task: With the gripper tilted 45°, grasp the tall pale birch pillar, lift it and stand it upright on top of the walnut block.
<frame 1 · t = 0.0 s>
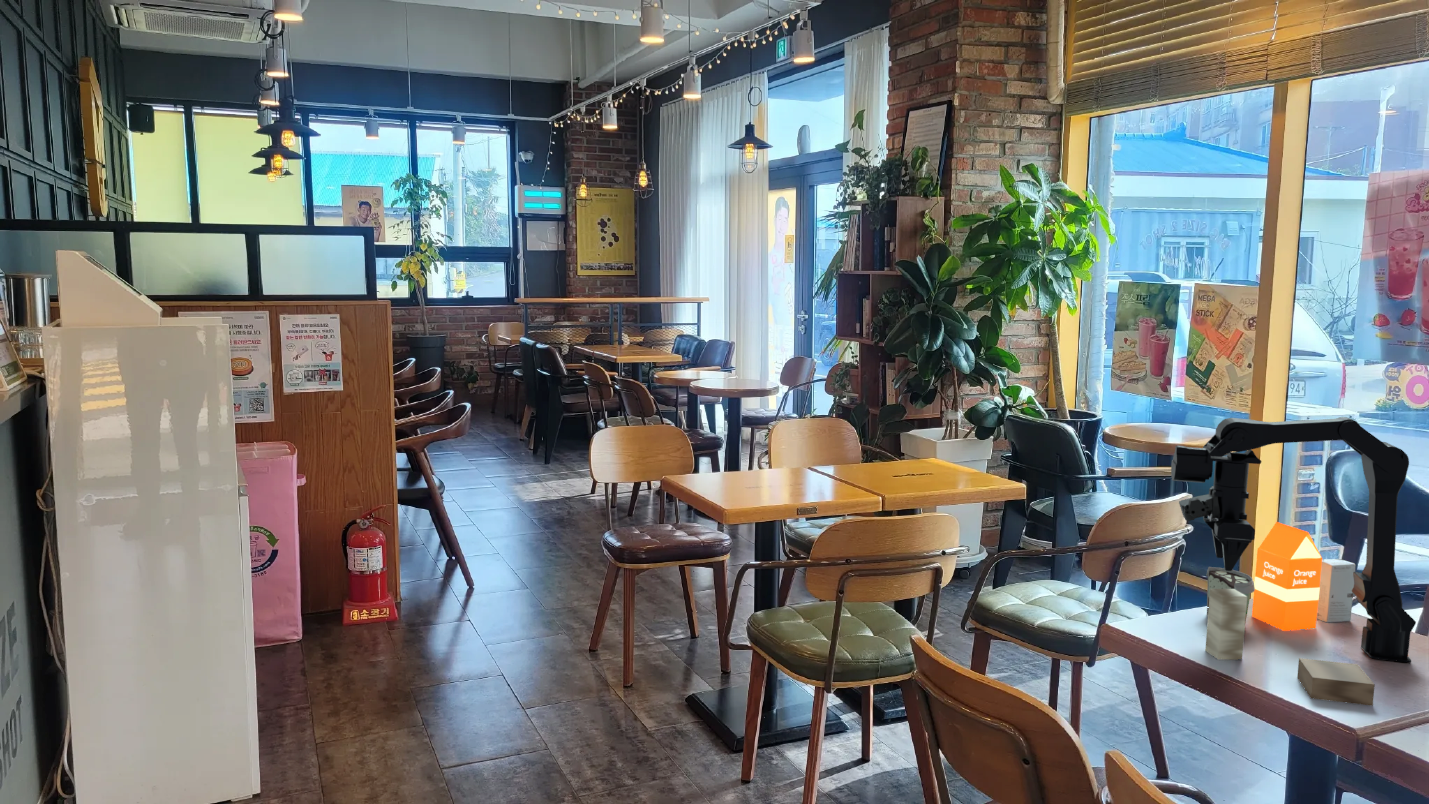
hand: (1223, 564, 193), 15 cm above the table, tool pointing down, fingers open, 9 cm apart
orange juice: (1283, 623, 204), on the table
food container: (1232, 624, 203), on the table
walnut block: (1333, 693, 170), on the table
birch pillar: (1223, 655, 186), on the table
skincare box: (1330, 619, 207), on the table
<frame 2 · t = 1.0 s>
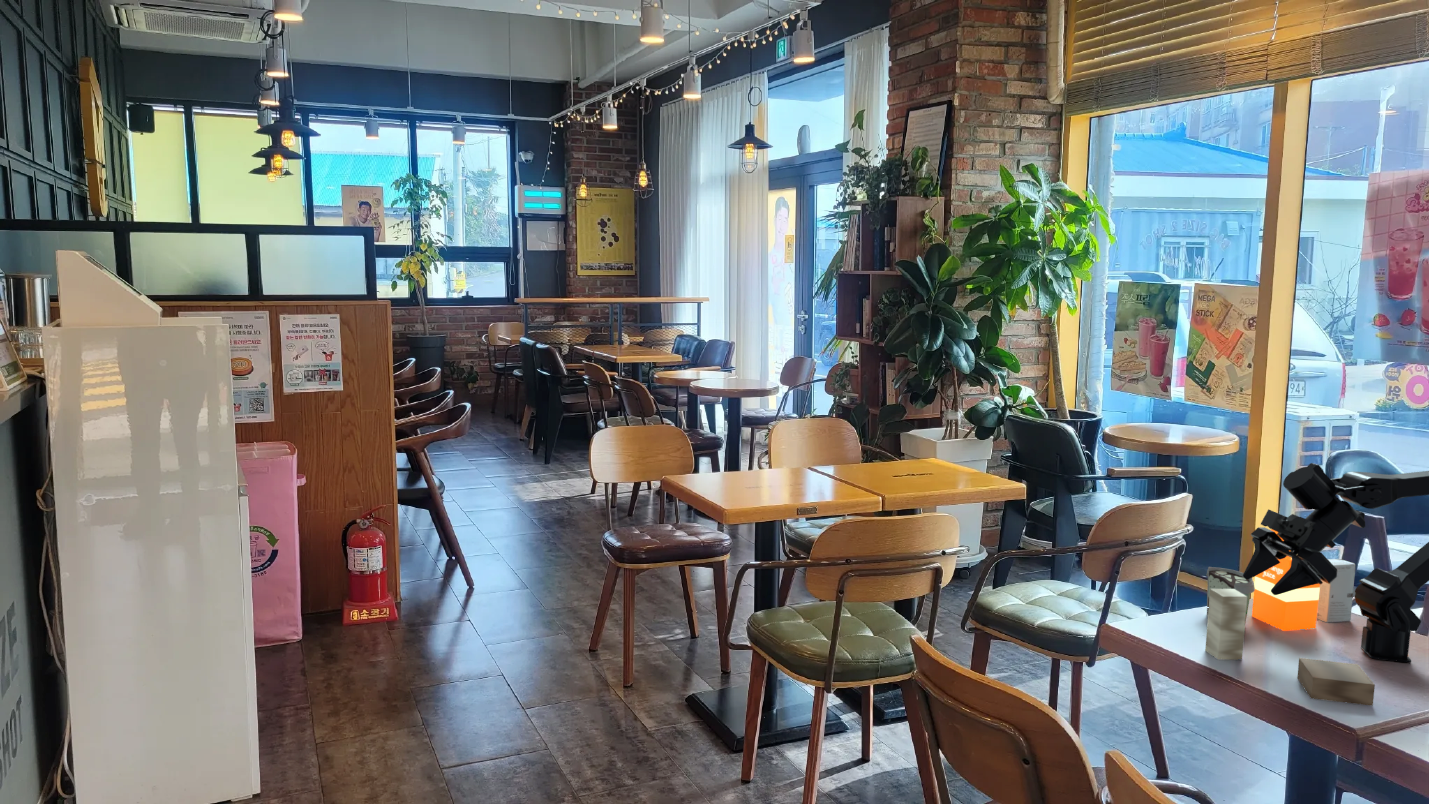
hand: (1258, 585, 185), 13 cm above the table, tool tilted 45°, fingers open, 9 cm apart
nothing on the table moved.
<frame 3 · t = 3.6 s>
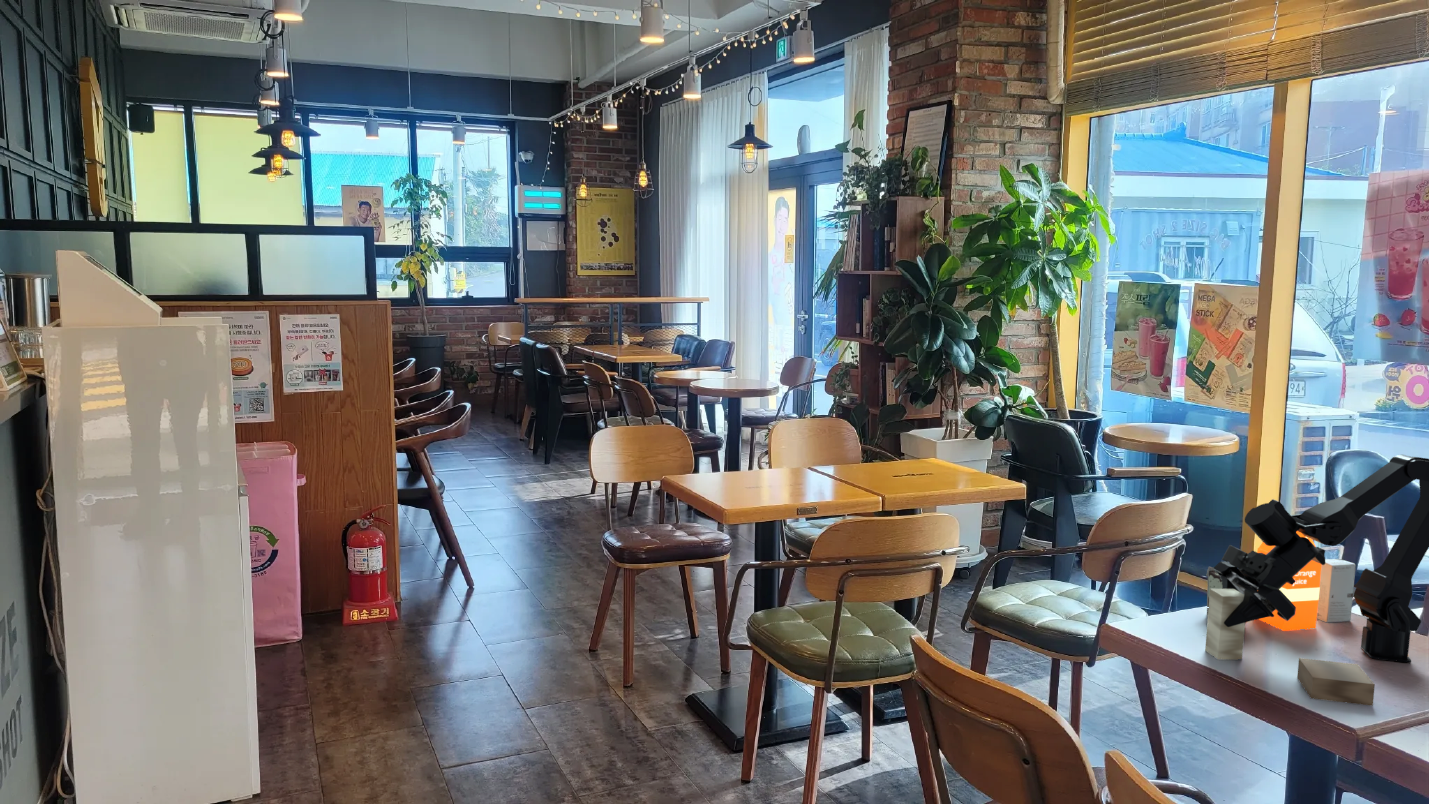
hand: (1218, 620, 185), 7 cm above the table, tool tilted 45°, fingers closed on birch pillar, 4 cm apart
birch pillar: (1223, 655, 186), on the table, touching gripper
everything else where it was.
when the fingers open (12 cm above the table, at t = 9.4 s): birch pillar drops 1 cm, resting on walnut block.
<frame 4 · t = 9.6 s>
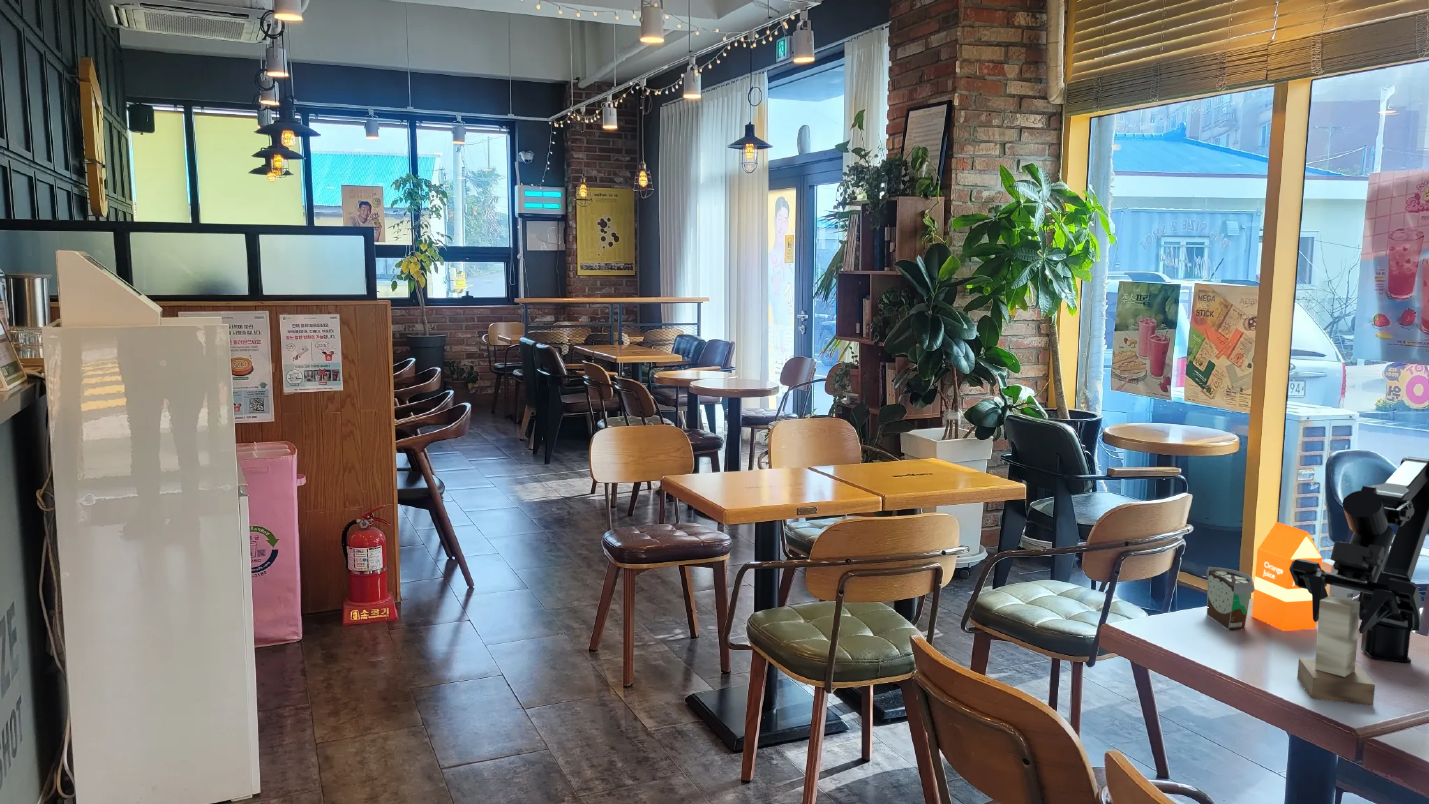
hand: (1337, 626, 168), 12 cm above the table, tool tilted 45°, fingers open, 7 cm apart
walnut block: (1333, 693, 170), on the table, touching birch pillar
birch pillar: (1334, 670, 170), point 4 cm above the table, touching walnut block
everything else where it was.
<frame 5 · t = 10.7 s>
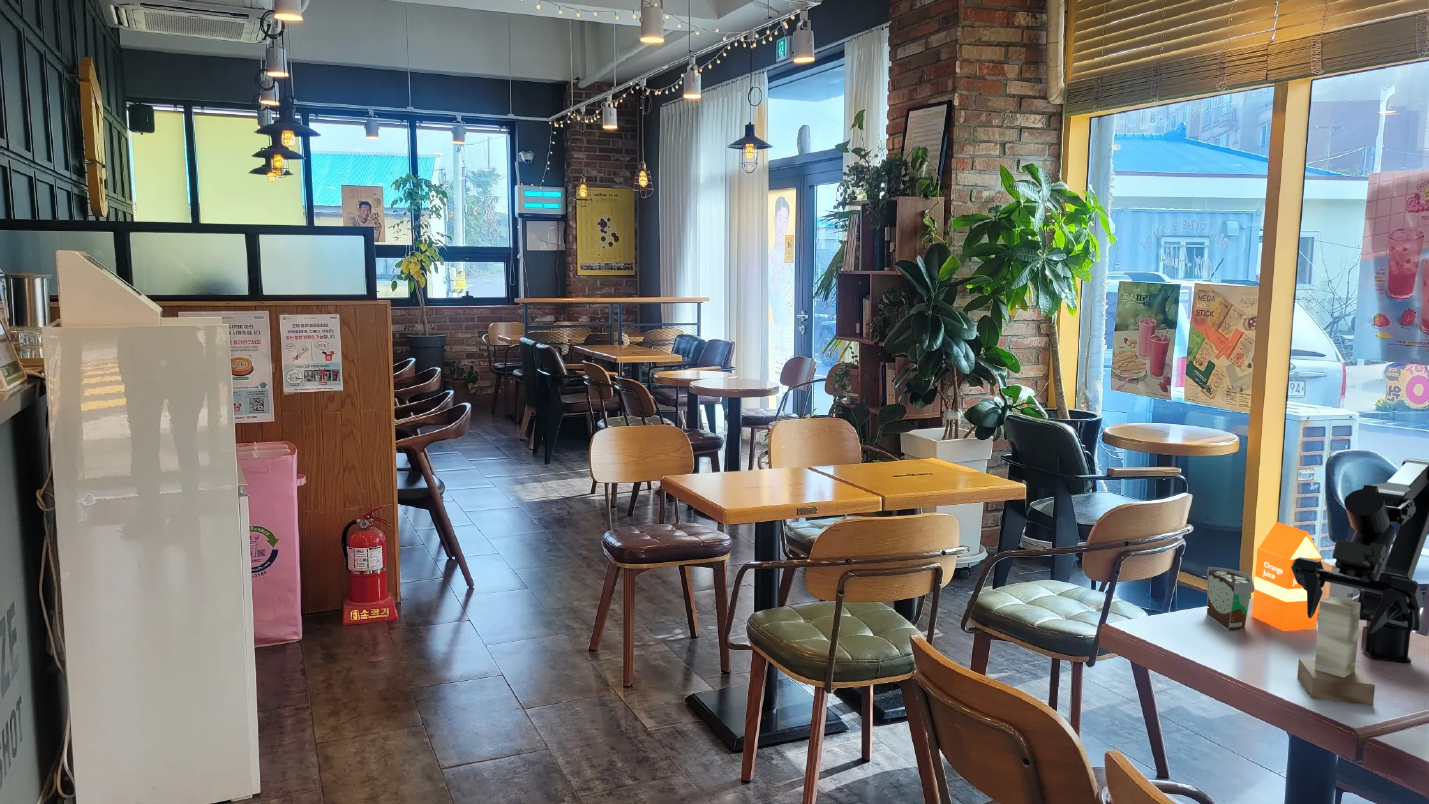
hand: (1339, 624, 168), 12 cm above the table, tool tilted 45°, fingers open, 9 cm apart
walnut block: (1333, 693, 170), on the table
birch pillar: (1334, 670, 170), point 4 cm above the table
everything else where it was.
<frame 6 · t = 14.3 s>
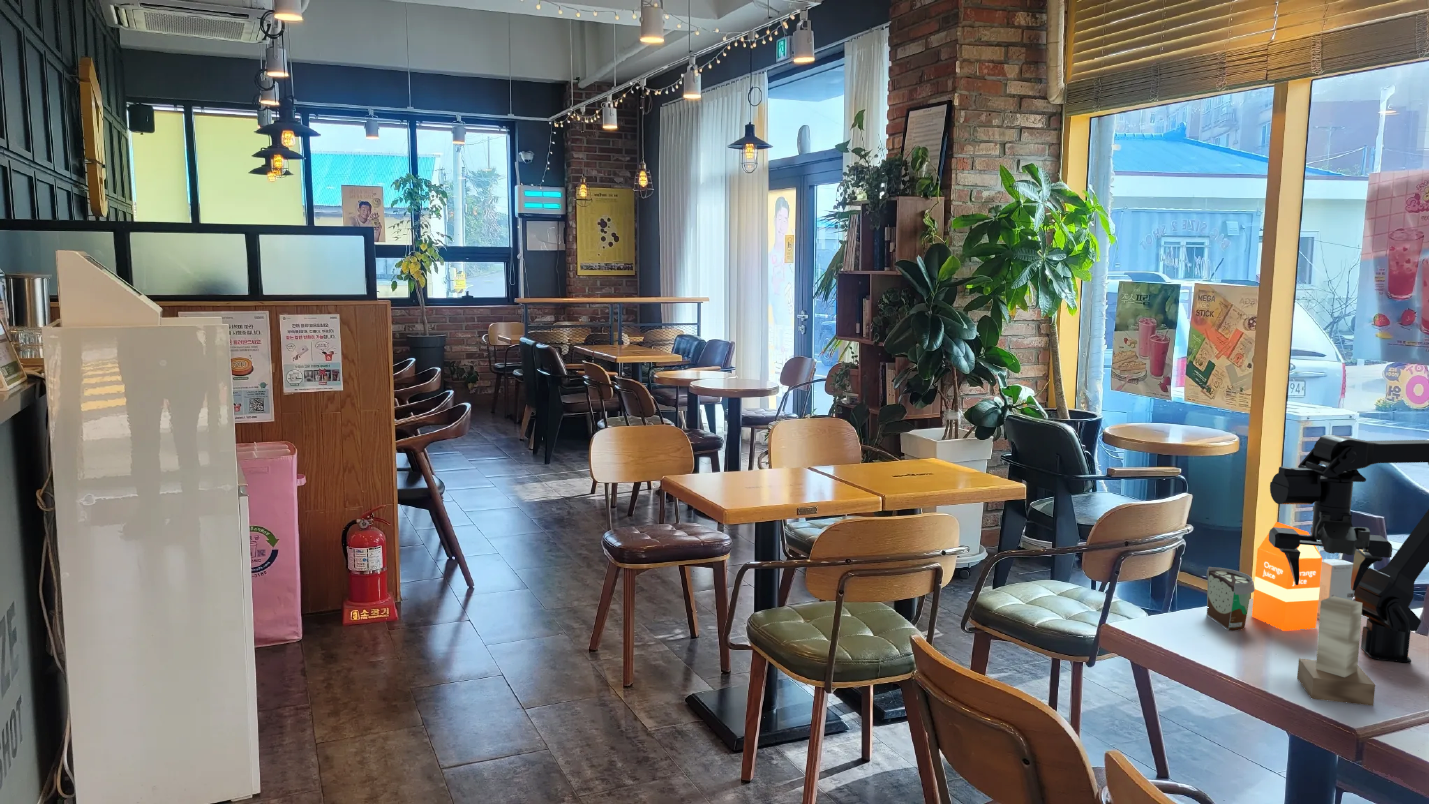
hand: (1324, 587, 185), 13 cm above the table, tool pointing down, fingers open, 9 cm apart
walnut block: (1333, 693, 170), on the table, touching birch pillar
birch pillar: (1336, 670, 170), point 4 cm above the table, touching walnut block
everything else where it was.
at the end: birch pillar 0.4 cm off-centre on the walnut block, point 4.0 cm above the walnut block's base; birch pillar tilted 1°; the gripper is holding nothing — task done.
